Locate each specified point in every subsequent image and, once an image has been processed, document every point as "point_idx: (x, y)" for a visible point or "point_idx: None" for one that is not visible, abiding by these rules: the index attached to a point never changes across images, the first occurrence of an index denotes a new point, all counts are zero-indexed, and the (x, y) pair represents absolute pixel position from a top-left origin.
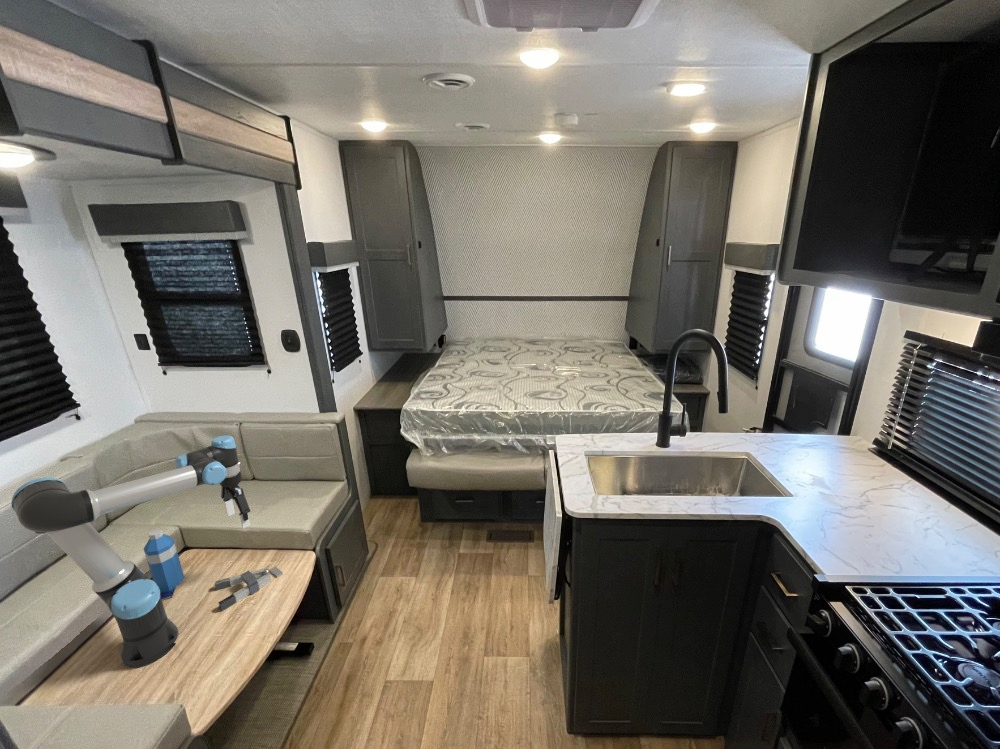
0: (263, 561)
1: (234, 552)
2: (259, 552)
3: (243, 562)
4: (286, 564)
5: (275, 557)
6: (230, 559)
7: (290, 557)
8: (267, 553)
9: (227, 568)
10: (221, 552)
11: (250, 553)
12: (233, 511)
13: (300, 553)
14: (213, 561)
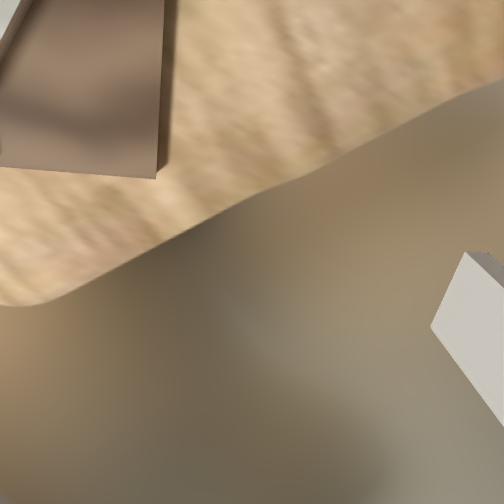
0: None
1: (376, 122)
2: (244, 193)
3: (247, 98)
4: (5, 214)
5: (122, 214)
6: (345, 73)
7: (49, 254)
8: (195, 210)
9: (287, 11)
10: (449, 83)
11: (283, 163)
12: (456, 343)
13: (37, 295)
14: (429, 7)
